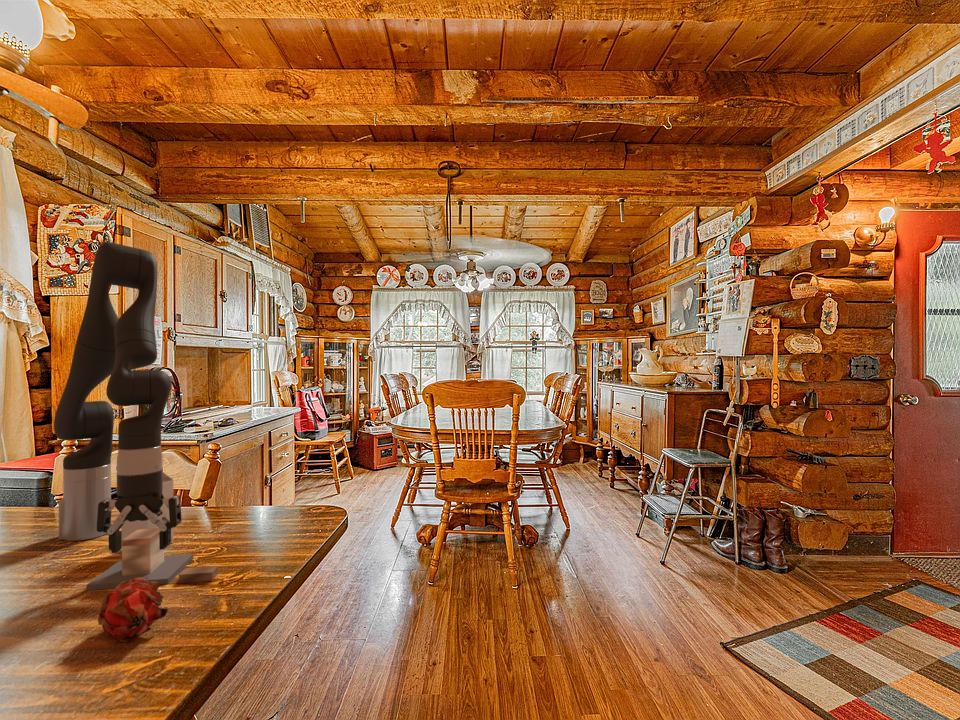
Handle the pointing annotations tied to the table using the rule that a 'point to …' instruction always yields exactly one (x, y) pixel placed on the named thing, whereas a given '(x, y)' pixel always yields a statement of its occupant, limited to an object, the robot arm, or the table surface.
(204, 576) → the block
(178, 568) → the charcoal mat
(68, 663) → the table surface
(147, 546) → the pinkish tan block
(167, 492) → the milk carton
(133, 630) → the dragon fruit
